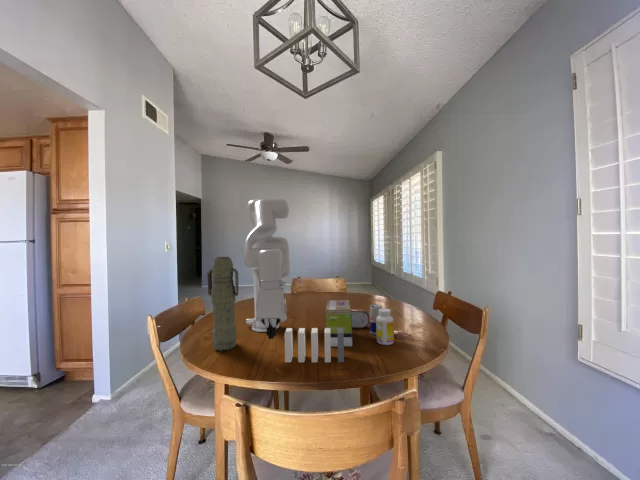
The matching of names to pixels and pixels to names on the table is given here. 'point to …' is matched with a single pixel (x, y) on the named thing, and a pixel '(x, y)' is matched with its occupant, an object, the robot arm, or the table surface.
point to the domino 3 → (314, 344)
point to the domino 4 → (327, 345)
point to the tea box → (339, 321)
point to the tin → (360, 318)
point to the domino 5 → (340, 345)
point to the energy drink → (373, 317)
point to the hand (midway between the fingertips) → (271, 337)
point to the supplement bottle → (385, 327)
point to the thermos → (223, 302)
